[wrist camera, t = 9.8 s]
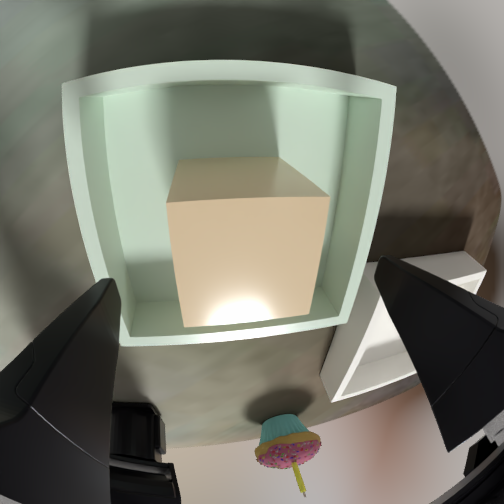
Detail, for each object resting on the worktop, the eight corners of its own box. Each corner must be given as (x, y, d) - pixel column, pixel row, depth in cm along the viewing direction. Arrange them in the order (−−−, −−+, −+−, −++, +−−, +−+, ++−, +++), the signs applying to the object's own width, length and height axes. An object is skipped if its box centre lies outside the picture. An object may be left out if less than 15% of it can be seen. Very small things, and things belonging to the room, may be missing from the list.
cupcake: (246, 415, 29) (266, 504, 18) (314, 400, 30) (345, 483, 19) (251, 437, 33) (268, 508, 23) (308, 424, 34) (331, 491, 24)
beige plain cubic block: (185, 248, 15) (184, 327, 10) (179, 159, 13) (165, 202, 7) (273, 242, 16) (308, 314, 11) (279, 156, 13) (330, 196, 8)
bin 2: (319, 374, 26) (331, 402, 23) (355, 263, 19) (380, 295, 16) (417, 346, 29) (430, 366, 26) (464, 250, 21) (486, 270, 18)
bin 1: (129, 306, 17) (121, 346, 14) (92, 85, 10) (61, 83, 7) (326, 289, 20) (346, 323, 17) (356, 85, 12) (396, 86, 9)
